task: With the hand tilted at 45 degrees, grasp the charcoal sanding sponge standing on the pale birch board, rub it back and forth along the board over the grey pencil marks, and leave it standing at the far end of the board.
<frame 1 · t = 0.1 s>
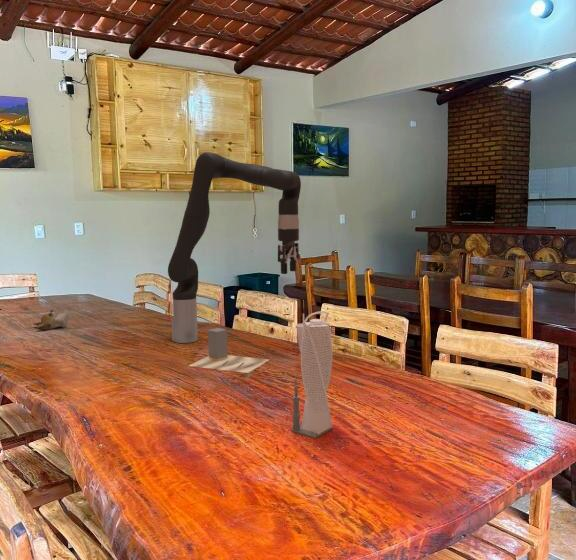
hand: (288, 272, 195), 29 cm above the table, fingers open, 8 cm apart
board: (229, 367, 179), on the table
skyscraper: (315, 430, 128), on the table
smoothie: (304, 351, 199), on the table
ceramic sculpture: (52, 329, 242), on the table
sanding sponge: (218, 358, 184), point 1 cm above the table, touching board
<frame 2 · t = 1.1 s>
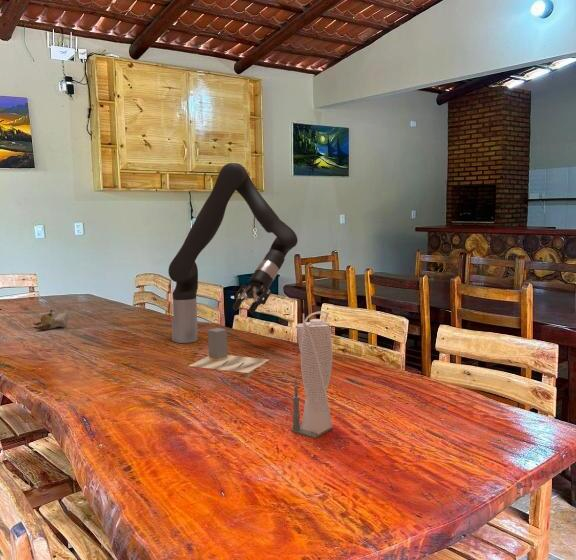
hand: (242, 310, 191), 16 cm above the table, fingers open, 8 cm apart
nothing on the table moved.
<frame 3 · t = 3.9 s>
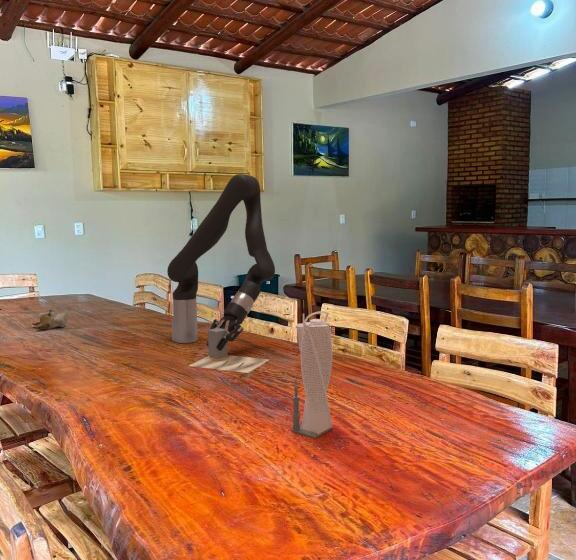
hand: (213, 347, 182), 6 cm above the table, fingers closed on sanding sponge, 4 cm apart
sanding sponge: (218, 358, 184), point 2 cm above the table, touching board, gripper
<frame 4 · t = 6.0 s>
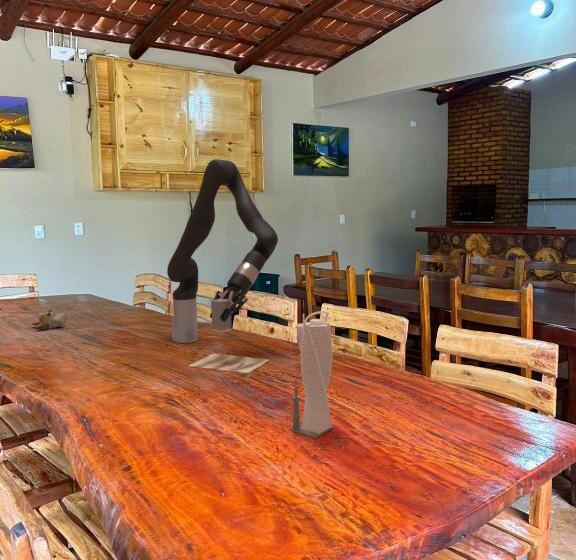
hand: (217, 318, 176), 17 cm above the table, fingers closed on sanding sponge, 4 cm apart
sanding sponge: (221, 330, 178), point 13 cm above the table, touching gripper
everything else where it was.
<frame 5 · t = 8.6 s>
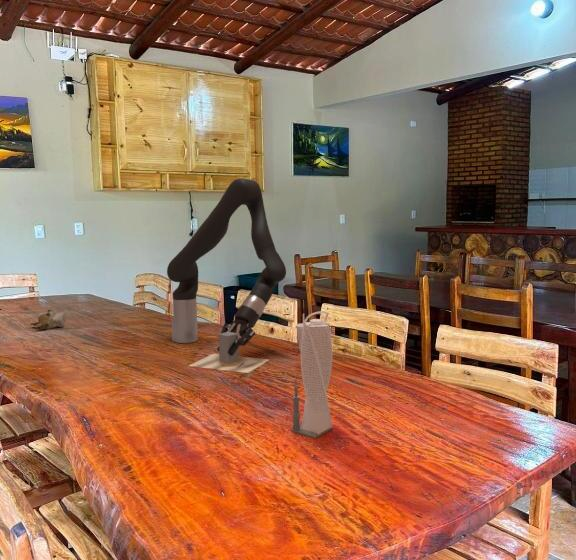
hand: (224, 352, 176), 6 cm above the table, fingers closed on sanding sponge, 4 cm apart
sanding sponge: (229, 363, 178), point 2 cm above the table, touching gripper
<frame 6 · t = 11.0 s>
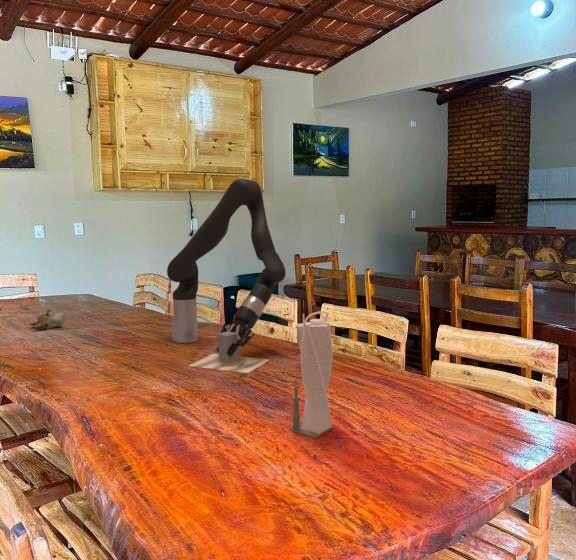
hand: (223, 353, 176), 5 cm above the table, fingers closed on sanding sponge, 4 cm apart
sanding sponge: (228, 363, 178), point 2 cm above the table, touching gripper
when the fingers open (5 cm above the table, at t = 13.3 s): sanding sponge stays where it is, resting on board.
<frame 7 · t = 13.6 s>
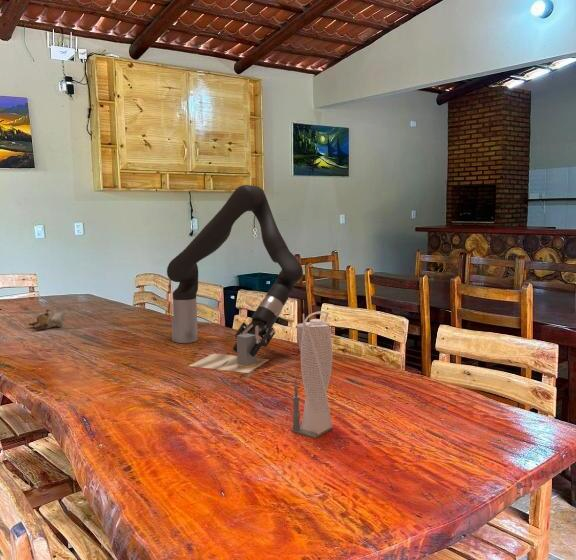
hand: (243, 353, 174), 6 cm above the table, fingers open, 7 cm apart
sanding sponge: (247, 365, 176), point 2 cm above the table, touching board
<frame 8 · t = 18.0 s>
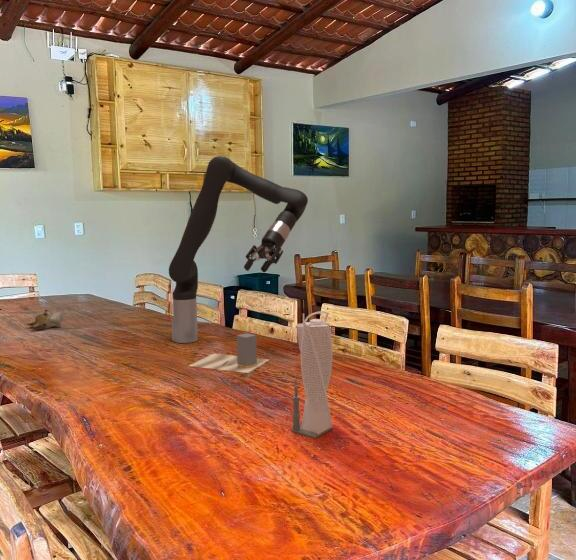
hand: (254, 270, 190), 31 cm above the table, fingers open, 8 cm apart
at the end: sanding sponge inside the target area on the board (0.7 cm from its centre), point 1.5 cm above the board's base; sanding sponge tilted 0°; the gripper is holding nothing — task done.
